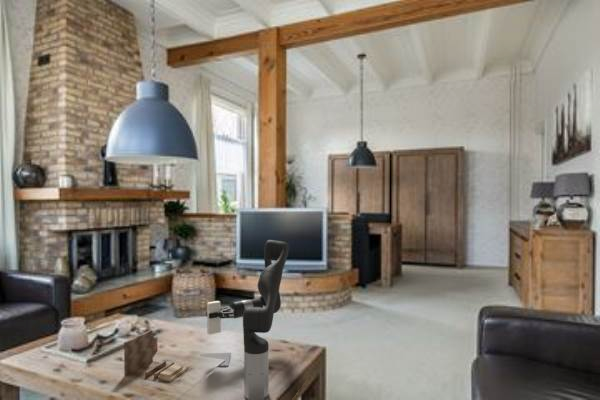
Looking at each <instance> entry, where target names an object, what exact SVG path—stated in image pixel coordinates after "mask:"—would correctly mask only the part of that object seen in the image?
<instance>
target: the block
mask: <svg viewBox="0 0 600 400" xmlns="http://www.w3.org/2000/svg"><path fill="white" fill-rule="evenodd" d="M221 306H222V305H221V301H220V300H214V301H210V302H209V301H208V302H206V312H207V317H206V320H207V321H206V325H207V326H206V328H207V331H206V332H207V334H208V335H209V336H210V335H215V334H219V333H221V331H222V328H221V327H222V325H221V323H222V322H221V318H217V317H216V318H211V319H210V318H209V314H210V313H215V312H219V311H221Z"/></svg>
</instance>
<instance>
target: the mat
mask: <svg viewBox="0 0 600 400" xmlns="http://www.w3.org/2000/svg"><path fill="white" fill-rule="evenodd" d="M231 355H232V354H231V352H218V353H217V352H216V353H200V355H199V356H200V357H203V358H204V357H205V358H212V359H218V360H224V361H222V362H221V363H220V364H218V365H217V366H216V368H229V364H230V359H231Z"/></svg>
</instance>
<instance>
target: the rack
mask: <svg viewBox="0 0 600 400" xmlns="http://www.w3.org/2000/svg"><path fill="white" fill-rule="evenodd" d="M153 333H154V331H153V329H150V330H148V331H145V332H143V333H140V334H139V335H137V336H135V337H133V338H130V339H129V340H127V341H124V342H123V349H124V350H123V353H124V355H123V356H124V357H123V358H124V363H123V366H124V367H123V368H124V373H123V374H124V377H128V378H134V379H138V380H142V381H143V380H144V381H149V382H150V381H151V382H154V383H155V382H156V383H161V384H164V385H165V384H166V385H173V384H175V382H177V381H178V380H180V379H182V377H184V376H185V375H186V374H189V373H190V372H191V371H192V370H193V369H195V368H194V367H190V366H188V365H187V366H186V365H181V364H175V361H174V362H173V361H172V362H170V363H167V360H163V361H162V362H161V361H160V362H159V361H154V358H153V357H154V352H153Z"/></svg>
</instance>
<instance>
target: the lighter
mask: <svg viewBox="0 0 600 400" xmlns="http://www.w3.org/2000/svg"><path fill="white" fill-rule="evenodd" d="M158 339H159V337H158V336H157V332H154V331H153V353H157V352H158Z"/></svg>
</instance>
